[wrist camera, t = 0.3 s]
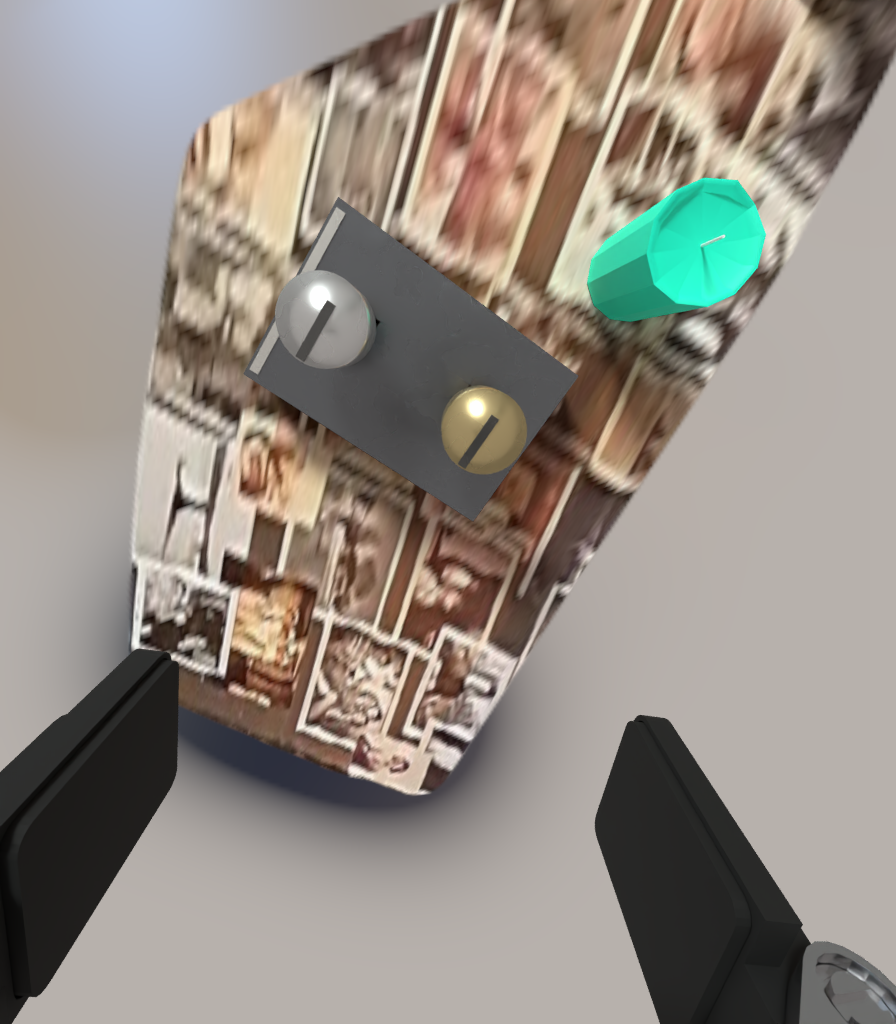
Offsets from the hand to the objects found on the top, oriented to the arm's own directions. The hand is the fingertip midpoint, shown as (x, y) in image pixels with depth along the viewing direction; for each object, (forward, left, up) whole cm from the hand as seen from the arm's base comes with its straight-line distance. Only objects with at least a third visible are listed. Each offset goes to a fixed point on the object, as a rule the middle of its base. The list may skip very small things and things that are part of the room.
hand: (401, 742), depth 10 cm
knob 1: (-5, -9, -26) cm, 28 cm away
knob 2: (-5, +1, -26) cm, 26 cm away
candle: (-19, +5, -30) cm, 36 cm away
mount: (-5, -4, -30) cm, 30 cm away
